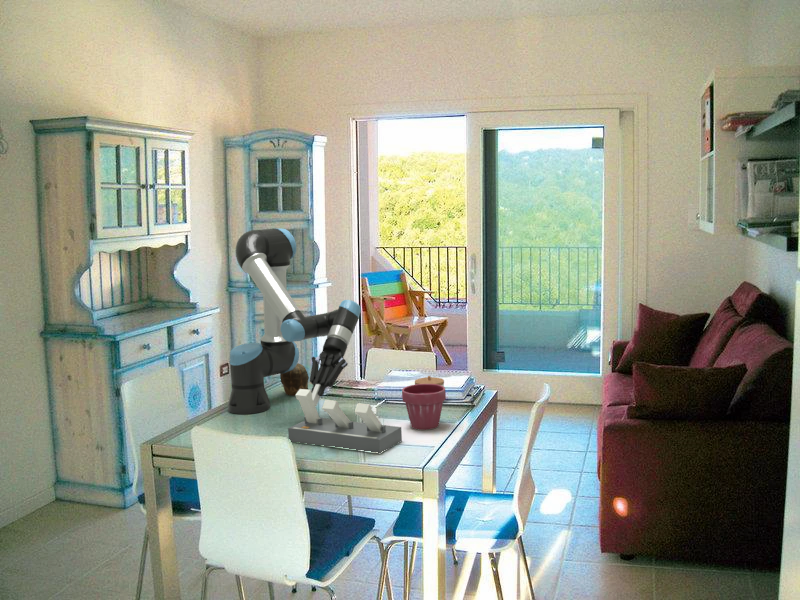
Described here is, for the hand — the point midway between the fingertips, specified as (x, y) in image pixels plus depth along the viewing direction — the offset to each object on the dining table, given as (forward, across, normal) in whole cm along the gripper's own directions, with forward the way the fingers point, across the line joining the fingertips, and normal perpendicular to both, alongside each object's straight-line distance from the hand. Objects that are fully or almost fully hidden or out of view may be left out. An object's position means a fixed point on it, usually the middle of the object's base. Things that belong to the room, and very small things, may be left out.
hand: (312, 403), depth 274 cm
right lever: (+4, -22, -4) cm, 23 cm away
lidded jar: (-30, -15, -47) cm, 58 cm away
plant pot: (-9, -27, -26) cm, 39 cm away
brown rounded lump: (-25, +39, -42) cm, 62 cm away
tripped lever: (+4, 0, -4) cm, 6 cm away
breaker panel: (+8, -11, -8) cm, 16 cm away
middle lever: (+4, -11, -4) cm, 12 cm away
